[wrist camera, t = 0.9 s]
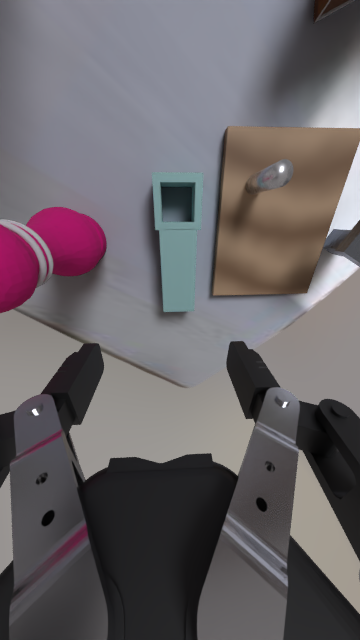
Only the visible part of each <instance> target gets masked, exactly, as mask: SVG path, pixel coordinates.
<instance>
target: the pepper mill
mask: <svg viewBox="0 0 360 640" xmlns="http://www.w3.org/2000/svg"><path fill="white" fill-rule="evenodd" d="M105 251H106V237H105V234H104V232H103V230H102V228H101V227H100V226H99V224H98V223H97V222H96V221H95V220H93V219H92V218H90V217H89V216H87V215H84V214H80V213H78V212H76V211H74V210H71V209H68V208H63V207H52V208H47V209H43V210H42V211H40V212H38V213H36V214H35V215H34V216H32V217H31V219H30V220H29V221H28V223H27V224H26V226H25V225H23V224H21V223H19V222H15V221H11V220H5V219H1V220H0V313H2V312H6V311H9V310H11V309H14V308H16V307H18V306H20V305H22V304H23V303H24V302H25V301H27V300H28V299H29V298H30V297H31V296H32V294H33V293H34V291H35V288H37V287H38V286H41V285H43V284H44V283H46V282H47V281H48V280H49V279H50V277H51V275H52V274H57V275H61V276H78V275H82V274H84V273H87V272H89V271H90V270H92V269H93V268H94V267H95V266H96V265H97V263H98V261H99V260H100V259H101V258H102V257H103V255H104V253H105Z"/></svg>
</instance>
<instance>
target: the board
mask: <svg viewBox="0 0 360 640" xmlns="http://www.w3.org/2000/svg"><path fill="white" fill-rule="evenodd" d="M359 142H360V128H302V127H242V126H228V127H227V129H226V130H225V139H224V151H223V163H222V175H221V187H220V199H219V210H218V222H217V234H216V246H215V258H214V270H213V282H212V294H213V295H253V294H298V293H307V291H308V289H309V286H310V283H311V280H312V277H313V274H314V271H315V268H316V266H317V263H318V260H319V257H320V254H321V251H322V248H323V245H324V243H325V240H326V237H327V234H328V231H329V228H330V225H331V222H332V219H333V217H334V214H335V211H336V208H337V205H338V202H339V199H340V196H341V194H342V191H343V188H344V185H345V182H346V179H347V176H348V173H349V171H350V168H351V165H352V162H353V159H354V156H355V153H356V150H357V147H358V145H359ZM283 159H287V160H289V161H291V163H292V164H293V175H292V178H291V180H290V181H289V182H288V183H287V184H286V185H285V186H283V187H280V188H276V189H272V190H269V191H265V192H261V193H258V194H254V195H251V194H249V193H248V192H247V190H246V182H247V180H248V178H249V177H250V176H251V175H253V174H255V173H257V172H259V171H261V170H263V169H265V168H267V167H269V166H270V165H272V164H274V163H276V162H278V161H280V160H283Z"/></svg>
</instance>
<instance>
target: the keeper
mask: <svg viewBox="0 0 360 640" xmlns="http://www.w3.org/2000/svg"><path fill="white" fill-rule="evenodd" d="M323 248H324V249H326V250H327V251H329V252H330V253H332V254H335V255H339V256H344V257H345V258H347V259H349V260H350V261H352V262H353V263H355V264H356V265H358V266H359V267H360V220H359V221H358V223H357V224H356V225H355V226H354V228H353V229H352V230H338V229H334V230H333V231H332V232H331V234H330V235H329V236H328V238H327V239H326V240H325V243H324V245H323Z"/></svg>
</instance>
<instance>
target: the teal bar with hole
mask: <svg viewBox="0 0 360 640" xmlns="http://www.w3.org/2000/svg"><path fill="white" fill-rule="evenodd" d="M152 183H153V199H154V215H155V230H159V235H160V254H161V273H162V292H163V311H164V312H179V311H194V300H195V273H196V246H197V230H201V215H202V193H203V173H152ZM161 187H192V212H191V222H163V215H162V192H161Z"/></svg>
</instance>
